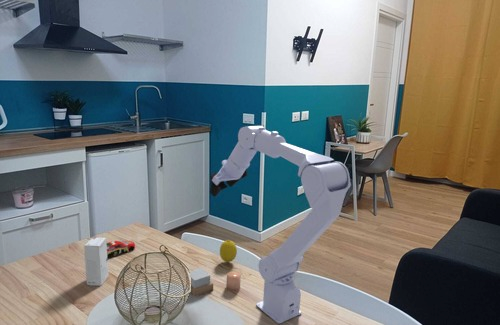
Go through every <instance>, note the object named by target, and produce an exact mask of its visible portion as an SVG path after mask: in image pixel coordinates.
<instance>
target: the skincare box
mask: <svg viewBox="0 0 500 325" xmlns="http://www.w3.org/2000/svg"><path fill="white" fill-rule="evenodd" d="M106 243H107V237H92V238H90V239H89V240H88V241H87V242H86V244H84V246H83V249H84V250H83V251H84V264H85V265H84V266H85V277H86V285H87V286H92V287H93V286H98V287H99V286H102V285H104V283H105V281H106V280H107V279H108V277H109V264H108V263H109V262H108V261H109V260H108V258H107V245H106Z"/></svg>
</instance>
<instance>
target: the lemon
mask: <svg viewBox="0 0 500 325" xmlns="http://www.w3.org/2000/svg"><path fill="white" fill-rule="evenodd" d="M237 252H238V251H237V245H236V243H235V242H234V241H232V240H230V239H227V240H224V241H223V242H222V243H221V244H220V248H219V256H220V258H221V260H222V261H224V262H226V263H228V264H229V263H230V262H232V261H234V260H235V259H236V257H237V254H238V253H237Z"/></svg>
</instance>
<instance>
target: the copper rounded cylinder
mask: <svg viewBox="0 0 500 325" xmlns="http://www.w3.org/2000/svg"><path fill="white" fill-rule="evenodd" d="M241 276H242V275H241V273H239V272H237V271H229V272H228V273H227V274H226V280H225V281H226V284H225V285H226V286H225V288H226V290H227V291H229V292H238V291H240V289H241V279H242V278H241Z"/></svg>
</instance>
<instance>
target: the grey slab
mask: <svg viewBox="0 0 500 325" xmlns="http://www.w3.org/2000/svg"><path fill="white" fill-rule="evenodd" d="M188 272H190V276H191V286H192V287H193V288H194V289H195V288H198V287H201V286H203V285H206V284H209V283H210V281H211V274H210V273H208V271H206V270H205V269H204V268H202V267H200V268H196V269H193V270H190V271H188Z"/></svg>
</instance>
